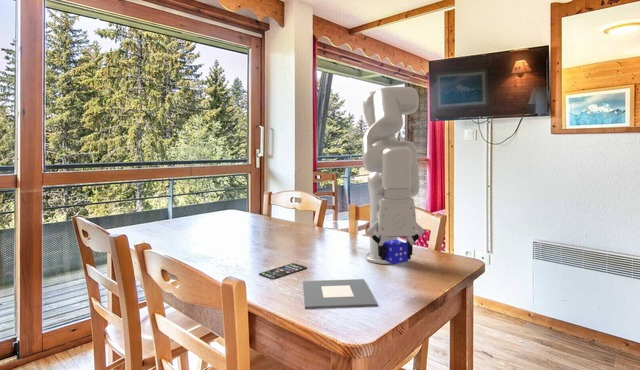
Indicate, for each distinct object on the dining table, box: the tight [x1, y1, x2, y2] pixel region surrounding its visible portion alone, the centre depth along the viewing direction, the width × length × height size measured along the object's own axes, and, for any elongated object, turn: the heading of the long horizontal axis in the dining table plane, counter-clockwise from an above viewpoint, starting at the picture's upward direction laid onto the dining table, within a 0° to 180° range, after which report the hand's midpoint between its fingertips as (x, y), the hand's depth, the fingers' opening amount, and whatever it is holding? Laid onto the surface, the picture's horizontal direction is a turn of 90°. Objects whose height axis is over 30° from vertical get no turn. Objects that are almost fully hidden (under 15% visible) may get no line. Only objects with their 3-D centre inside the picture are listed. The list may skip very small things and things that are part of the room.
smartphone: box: [258, 262, 308, 281], centre depth 122 cm, size 7×1×15 cm
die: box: [384, 239, 409, 265], centre depth 104 cm, size 5×5×5 cm
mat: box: [302, 278, 378, 309], centre depth 103 cm, size 18×18×1 cm
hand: (395, 257), depth 104 cm, fingers closed on die, 6 cm apart
